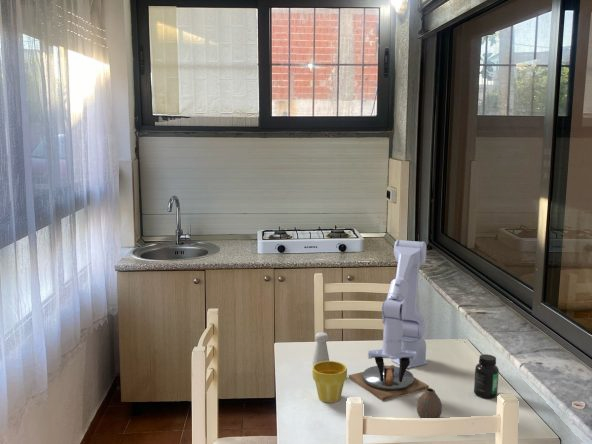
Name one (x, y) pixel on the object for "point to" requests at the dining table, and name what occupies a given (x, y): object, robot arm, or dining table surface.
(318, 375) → the plant pot
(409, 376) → the crank wheel
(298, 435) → the dining table surface
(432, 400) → the vase
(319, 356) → the salt shaker
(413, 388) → the base
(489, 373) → the supplement bottle
